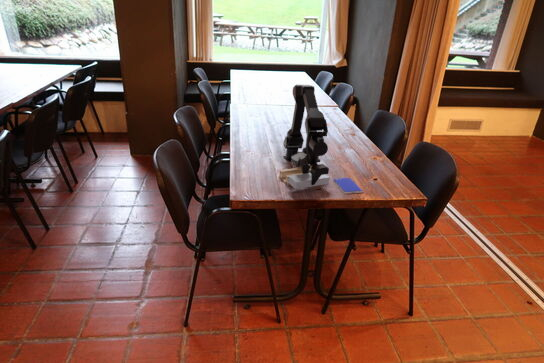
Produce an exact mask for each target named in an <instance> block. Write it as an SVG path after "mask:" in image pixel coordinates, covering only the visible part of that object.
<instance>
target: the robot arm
mask: <svg viewBox="0 0 544 363" xmlns="http://www.w3.org/2000/svg"><path fill="white" fill-rule="evenodd" d="M315 92H316V90H315V86H314V85H310V84H295V85H294V86H293V87H292V95H293V100H294V102H295V103H294V109H293V117H292V121H291V122H292V123H291V128H290V129H289V130H288V131H287V133H286V136H285V138H284V140H283V147H284V149H285V150H286V151H285V152H286V153H285V155H283V158H284V159H285V160H286V161H287V162H291V163H292V165H294V166H295V168H297V167H300V166H301V169H302V173H303V174H306V173H308V172H310V173H311V185H314V184H315V183H316V182H317V180H318V179H319V177H320V176H321V175H324V174H326V175H329V172H330V168H329V167H328V166H327V165H325V164H324V163H321V159H320V158H319V157H322V156H324V155H326V154H327V153H328V151H329V147H328V144H327V143H326V142H325V138H324V137H327V136H328V133H329V130H328V123H327V119H326V118H325V115H324V113H323V112H322V111H320V110H319V107H318V102H317V99H316V95H315ZM305 111H306V118H305V120H304V128H305V133H306V134H305V135H306V139H305V140H306V141H305V140H304V137H303V133H302V126H303V125H302V124H303V119H304V115H305ZM304 141H305V147H303V145H304ZM299 149H302V151H299ZM318 163H319V164H318ZM310 166H312V167H311V171H309V169H310Z"/></svg>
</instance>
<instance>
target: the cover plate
mask: <svg viewBox="0 0 544 363" xmlns="http://www.w3.org/2000/svg"><path fill="white" fill-rule="evenodd" d="M288 183H289V184H290V185H289V186H292V187H293V188H294V189H295V190H301V189H306V188H311V187H317V186H318V187H319V186H324V185H329V184H330V176H329V175H328V174H324V175H321V176H320V177H319V179H318V180H317V182H316V183H315V184H314V185H311V173H306V174H299V175H293V176H289V181H288Z"/></svg>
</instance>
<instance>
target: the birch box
mask: <svg viewBox="0 0 544 363" xmlns="http://www.w3.org/2000/svg"><path fill="white" fill-rule="evenodd" d="M311 167H312V166H310V169H309V171H311ZM308 173H310V172H308ZM299 174H303V173H302V169H301V166H300V167H295V168H286V169H280V170H279V175H278V178H280V179H281V180H282V181H283V182H284V183H285V184H286V185H287V186H291V185H290V184H289V183H288V181H289V176H293V175H299Z"/></svg>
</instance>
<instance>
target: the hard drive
mask: <svg viewBox="0 0 544 363" xmlns="http://www.w3.org/2000/svg"><path fill="white" fill-rule="evenodd" d="M333 182H334V184H335V185H336V186H337V187H338V188H339V189H340V191H342V192H343V193H344V194H345V195H346V194H347V195H348V194H357V193H358V194H359V193H363V192H364V191H363V190H362V189H361V187H359V186H358V184H357V183H355V181H354V180H352V179H351V178H350V177H343V178H340V177H339V178H338V177H337V178H333Z"/></svg>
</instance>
